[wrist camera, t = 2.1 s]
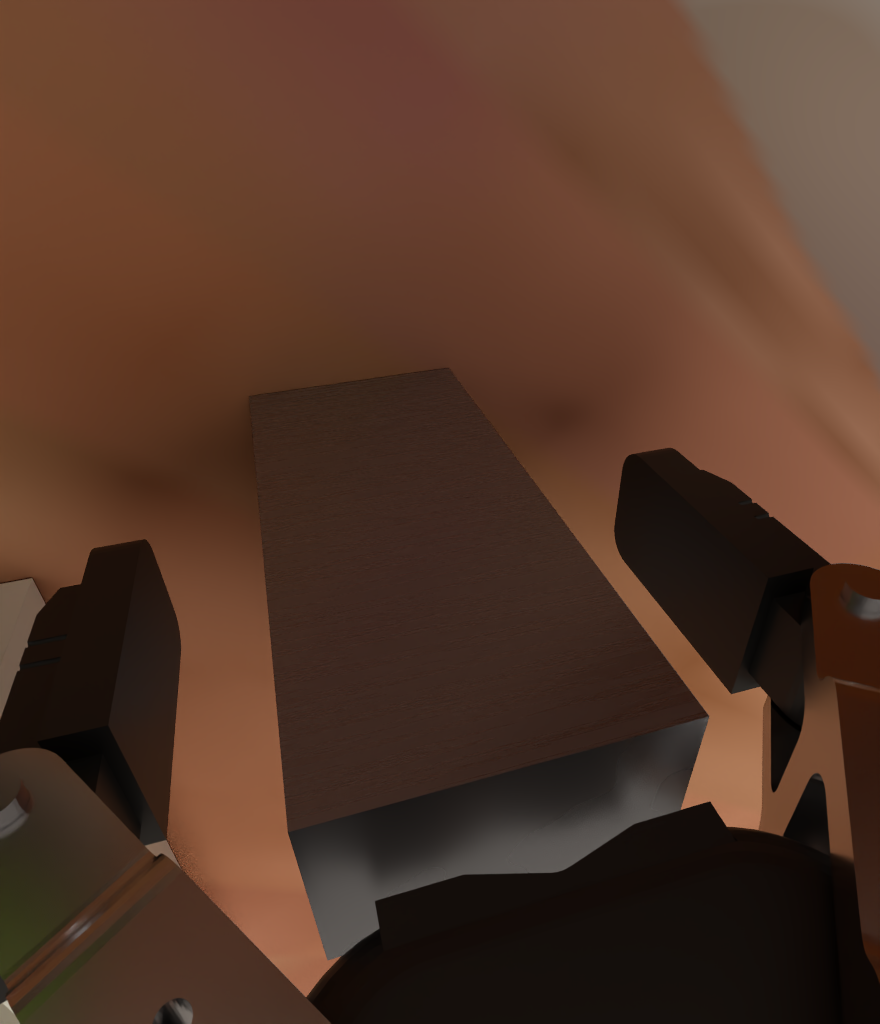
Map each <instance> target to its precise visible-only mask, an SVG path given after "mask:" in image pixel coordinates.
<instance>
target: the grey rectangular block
mask: <svg viewBox="0 0 880 1024" xmlns="http://www.w3.org/2000/svg"><path fill="white" fill-rule="evenodd" d="M249 401H250V413H251V424H252V435H253V446H254V457H255V469H256V480H257V491H258V502H259V513H260V525H261V536H262V547H263V558H264V569H265V581H266V592H267V603H268V614H269V625H270V637H271V648H272V659H273V670H274V681H275V693H276V704H277V715H278V726H279V737H280V749H281V760H282V771H283V782H284V793H285V805H286V816H287V827H288V834H289V837H290V840H291V844H292V847H293V850H294V853H295V857H296V860H297V863H298V866H299V869H300V873H301V876H302V879H303V882H304V886H305V889H306V892H307V895H308V898H309V902H310V905H311V908H312V911H313V915H314V918H315V921H316V924H317V928H318V931H319V934H320V937H321V940H322V944H323V947H324V950H325V953H326V957H327V960H330V959H334V958H337V957H340V956H343V955H344V954H345V953H346V952H347V951H349V950H350V949H351V948H352V947H353V946H355V945H356V944H357V943H358V942H360V941H361V940H362V939H364V938H365V937H367V936H368V935H370V934H371V933H373V932H375V931H376V930H378V929H379V923H378V917H377V911H376V906H375V901H376V900H380V899H383V898H386V897H390V896H393V895H396V894H400V893H403V892H406V891H410V890H413V889H417V888H420V887H423V886H427V885H430V884H433V883H437V882H440V881H444V880H447V879H450V878H454V877H457V876H460V875H464V874H512V873H553V872H559V871H562V870H565V869H567V868H568V867H570V866H572V865H573V864H575V863H576V862H578V861H579V860H581V859H582V858H584V857H585V856H587V855H588V854H590V853H591V852H593V851H594V850H596V849H597V848H599V847H600V846H602V845H603V844H605V843H606V842H608V841H609V840H611V839H612V838H614V837H615V836H617V835H618V834H620V833H621V832H623V831H624V830H626V829H627V828H629V827H630V826H632V825H633V824H636V823H639V822H642V821H646V820H649V819H652V818H656V817H659V816H663V815H666V814H669V813H673V812H676V811H679V810H680V809H681V806H682V803H683V800H684V796H685V793H686V790H687V787H688V784H689V780H690V777H691V774H692V771H693V767H694V764H695V761H696V758H697V755H698V751H699V748H700V745H701V742H702V738H703V735H704V732H705V729H706V726H707V722H708V719H709V715H708V714H707V713H706V711H705V710H704V709H703V707H702V706H701V705H700V703H699V702H698V701H697V699H696V698H695V697H694V695H693V694H692V693H691V691H690V690H689V689H688V687H687V686H686V685H685V683H684V682H683V680H682V679H681V678H680V676H679V675H678V674H677V672H676V671H675V670H674V668H673V667H672V666H671V664H670V663H669V662H668V660H667V659H666V658H665V656H664V655H663V654H662V652H661V651H660V650H659V648H658V647H657V646H656V644H655V643H654V642H653V640H652V639H651V638H650V636H649V635H648V634H647V632H646V631H645V630H644V628H643V627H642V626H641V624H640V623H639V622H638V620H637V619H636V618H635V616H634V615H633V614H632V612H631V611H630V610H629V608H628V607H627V606H626V604H625V603H624V602H623V600H622V599H621V598H620V596H619V595H618V594H617V592H616V591H615V590H614V588H613V587H612V585H611V584H610V583H609V581H608V580H607V579H606V577H605V576H604V575H603V573H602V572H601V571H600V569H599V568H598V567H597V565H596V564H595V563H594V561H593V560H592V559H591V557H590V556H589V555H588V553H587V552H586V551H585V549H584V548H583V547H582V545H581V544H580V543H579V541H578V540H577V539H576V537H575V536H574V535H573V533H572V532H571V531H570V529H569V528H568V527H567V525H566V524H565V523H564V521H563V520H562V519H561V517H560V516H559V515H558V513H557V512H556V511H555V509H554V508H553V507H552V505H551V504H550V503H549V501H548V500H547V499H546V497H545V496H544V495H543V493H542V492H541V490H540V489H539V488H538V486H537V485H536V484H535V482H534V481H533V480H532V478H531V477H530V476H529V474H528V473H527V472H526V470H525V469H524V468H523V466H522V465H521V464H520V462H519V461H518V460H517V458H516V457H515V456H514V454H513V453H512V452H511V450H510V449H509V448H508V446H507V445H506V444H505V442H504V441H503V440H502V438H501V437H500V436H499V434H498V433H497V432H496V430H495V429H494V428H493V426H492V425H491V424H490V422H489V421H488V420H487V418H486V417H485V416H484V414H483V413H482V412H481V410H480V409H479V408H478V406H477V405H476V404H475V402H474V401H473V400H472V398H471V397H470V396H469V394H468V393H467V391H466V390H465V389H464V387H463V386H462V385H461V383H460V382H459V381H458V379H457V378H456V377H455V375H454V374H453V373H452V371H451V370H450V369H449V368H444V369H437V370H430V371H423V372H416V373H409V374H402V375H395V376H388V377H381V378H374V379H367V380H360V381H353V382H346V383H339V384H332V385H325V386H318V387H311V388H304V389H297V390H290V391H283V392H276V393H269V394H262V395H255V396H249Z"/></svg>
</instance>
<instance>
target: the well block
mask: <svg viewBox="0 0 880 1024" xmlns="http://www.w3.org/2000/svg"><path fill="white" fill-rule="evenodd" d="M45 605H46V604H45V602H44V600H43V598H42V596H41V594H40V592H39V590H38V589H37V587H36V585H35V583H34V581H33V579H32V578H30V579H25V580H19V581H14V582H9V583H3V584H0V719H1V716H2V713H3V710H4V707H5V704H6V702H7V699H8V696H9V693H10V690H11V687H12V684H13V681H14V678H15V676H16V673H17V671H20V666H19V664H20V661H21V658H22V655H23V652H24V650H25V648H26V647H28V643H27V641H28V638H29V635H30V632H31V629H32V626H33V624H34V621H35V618H36V615H37V614H38V612H39V611H40V610H41V609H42V608H43V607H44V606H45ZM145 847H146V848H147V849H148V850H149V851H150V852H151V853H152V854H154V855H155V856H156V857H157V856H158V855H159V854H160V853H162V854H164V855H166V856H167V857H169V858H170V859H171V860H172V861H173V862H174V863H175V864H177V865H178V866H179V864H178V862H177V860H176V858H175V856H174V854H173V852H172V850H171V848H170V846H169V844H168V842H167V840H164V841H161V842H157V843H153V844H149V845H145ZM179 867H180V866H179ZM0 1024H20V1023H19V1021H18V1019H17V1018H16V1016H15V1014H14V1013H13V1011H12V1009H11V1007H10V1005H9V1003H8V1001H5V1002H3V1003H2V1004H0Z"/></svg>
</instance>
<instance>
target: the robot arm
mask: <svg viewBox="0 0 880 1024" xmlns="http://www.w3.org/2000/svg"><path fill="white" fill-rule="evenodd" d="M614 533H615V540H616V545H617V548H618V551H619V553H620V555H621V557H622V559H623V560H624V562H625V563H626V564H627V565H628V567H629V568H630V569H631V570H632V572H633V573H634V574H635V575H636V577H637V578H638V579H639V580H640V582H641V583H642V584H643V585H644V586H645V588H646V589H647V590H648V591H649V593H650V594H651V595H652V596H653V598H654V599H655V600H656V601H657V603H658V604H659V605H660V606H661V608H662V609H663V610H664V611H665V613H666V614H667V615H668V616H669V617H670V619H671V620H672V621H673V622H674V624H675V625H676V626H677V627H678V629H679V630H680V631H681V632H682V634H683V635H684V636H685V637H686V639H687V640H688V641H689V642H690V643H691V645H692V646H693V647H694V648H695V650H696V651H697V652H698V653H699V655H700V656H701V657H702V658H703V660H704V661H705V662H706V663H707V665H708V666H709V667H710V668H711V670H712V671H713V672H714V673H715V674H716V676H717V677H718V678H719V679H720V681H721V682H722V683H723V684H724V686H725V687H726V688H727V689H728V691H729V692H730V693H731V694H733V693H737V692H741V691H745V690H749V689H752V688H756V687H760V686H761V688H762V689H763V690H764V691H765V692H766V693H767V695H768V696H767V699H766V701H765V704H764V707H763V754H762V811H761V820H760V825H759V830H755V829H746V828H737V827H726V825H725V824H724V822H723V820H722V819H721V817H720V816H719V814H718V813H717V811H716V810H715V808H714V807H713V805H712V804H711V802H706V803H703V804H700V805H696V806H693V807H689V808H686V809H683V810H679V811H676V812H673V813H669V814H666V815H663V816H659V817H656V818H652V819H649V820H646V821H642V822H639V823H636V824H633V825H632V826H630V827H629V828H627V829H626V830H624V831H623V832H621V833H620V834H618V835H617V836H615V837H614V838H612V839H611V840H609V841H608V842H606V843H605V844H603V845H602V846H600V847H599V848H597V849H596V850H594V851H593V852H591V853H590V854H588V855H587V856H585V857H584V858H582V859H581V860H579V861H578V862H576V863H575V864H573V865H572V866H570V867H568V868H567V869H565V870H562V871H559V872H553V873H512V874H464V875H460V876H457V877H454V878H450V879H447V880H444V881H440V882H437V883H433V884H430V885H427V886H423V887H420V888H417V889H413V890H410V891H406V892H403V893H400V894H396V895H393V896H390V897H386V898H383V899H380V900H376V901H375V906H376V911H377V917H378V923H379V929H378V930H376V931H375V932H373V933H371V934H370V935H368V936H367V937H365V938H364V939H362V940H361V941H360V942H358V943H357V944H356V945H355V946H353V947H352V948H351V949H350V950H349V951H347V952H346V953H345V954H344V955H343V956H341V957H340V958H339V960H338V961H337V962H336V963H335V964H334V965H333V966H332V967H331V968H330V969H329V970H328V971H327V972H326V973H325V974H324V975H323V976H322V978H321V979H320V980H319V982H318V983H317V984H316V985H315V987H314V988H313V989H312V991H311V992H310V993H309V995H308V996H307V997H305V996H304V995H303V994H302V993H301V992H300V991H299V990H298V989H297V988H296V987H295V986H294V985H293V984H292V983H291V982H290V981H289V980H288V979H287V977H286V976H285V975H284V974H283V973H282V972H281V971H280V970H279V969H278V968H277V967H276V966H275V965H274V964H273V963H272V962H271V961H270V960H269V959H268V958H267V957H266V956H265V955H264V954H263V953H262V952H261V951H260V950H259V949H258V948H257V947H256V946H255V945H254V943H253V942H252V941H251V940H250V939H249V938H248V937H247V936H246V935H245V934H244V933H243V932H242V931H241V930H240V929H239V928H238V927H237V926H236V925H235V924H234V923H233V922H232V921H231V920H230V919H229V918H228V917H227V916H226V915H225V914H224V913H223V912H222V911H221V909H220V908H219V907H218V906H217V905H216V904H215V903H214V902H213V901H212V900H211V899H210V898H209V897H208V896H207V895H206V894H205V893H204V892H203V891H202V890H201V889H200V888H199V887H198V886H197V885H196V884H195V883H194V882H193V881H192V880H191V879H190V878H189V877H188V876H187V874H186V873H185V872H184V871H183V870H182V869H181V868H180V867H179V866H178V865H177V864H175V863H174V862H173V861H172V860H171V859H170V858H169V857H167V856H166V855H164V854H162V853H160V854H159V855H158V856H157V857H156V856H155V855H154V854H152V853H151V852H150V851H149V850H148V849H147V848H146V847H145V845H149V844H153V843H157V842H161V841H164V840H166V838H167V825H168V812H169V799H170V786H171V773H172V760H173V747H174V734H175V721H176V708H177V696H178V683H179V670H180V657H181V640H180V632H179V626H178V622H177V618H176V614H175V611H174V608H173V605H172V603H171V600H170V597H169V594H168V592H167V589H166V586H165V583H164V581H163V578H162V575H161V572H160V569H159V567H158V564H157V561H156V558H155V556H154V553H153V550H152V548H151V546H150V544H149V543H148V541H147V540H145V539H144V540H138V541H132V542H127V543H121V544H115V545H110V546H104V547H99V548H94V549H92V550H91V552H90V555H89V558H88V562H87V565H86V569H85V573H84V576H83V580H82V583H81V584H80V585H74V586H69V587H63V588H60V589H59V590H58V591H57V592H56V593H55V594H54V596H53V597H52V598H51V599H50V600H49V601H48V602H47V603H46V605H45V606H44V607H43V608H42V609H41V610H40V611H39V612H38V614H37V615H36V618H35V621H34V624H33V626H32V629H31V632H30V635H29V638H28V641H27V643H28V647H26V648H25V650H24V652H23V655H22V658H21V661H20V664H19V666H20V671H17V673H16V676H15V678H14V681H13V684H12V687H11V690H10V693H9V696H8V699H7V702H6V704H5V707H4V710H3V713H2V716H1V719H0V1004H2V1003H3V1002H5V1001H8V1003H9V1005H10V1007H11V1009H12V1011H13V1013H14V1014H15V1016H16V1018H17V1019H18V1021H19V1023H20V1024H880V570H878V569H875V568H871V567H867V566H863V565H858V564H849V563H838V564H830V563H829V562H827V561H826V560H825V559H824V558H823V557H821V556H820V555H819V554H818V553H817V552H815V551H814V550H813V549H812V548H810V547H809V546H808V545H807V544H806V543H804V542H803V541H802V540H801V539H799V538H798V537H797V536H796V535H795V534H793V533H792V532H791V531H790V530H789V529H787V528H786V527H785V526H784V525H782V524H781V523H780V522H779V521H778V520H776V519H775V518H774V517H769V513H768V512H767V511H765V510H764V509H763V508H762V507H761V506H759V505H758V504H757V503H752V499H751V498H750V497H748V496H747V495H746V494H745V493H743V492H742V491H741V490H740V489H739V488H737V487H736V486H735V485H734V484H732V483H731V482H729V481H727V480H725V479H722V478H720V477H718V476H716V475H714V474H711V473H709V472H707V471H705V470H699V469H698V468H697V467H696V466H694V465H693V464H692V463H691V462H690V461H688V460H687V459H686V458H685V457H684V456H683V455H681V454H680V453H679V452H678V451H676V450H675V449H673V448H665V449H659V450H654V451H648V452H642V453H637V454H632V455H629V456H628V457H627V458H626V459H625V461H624V464H623V469H622V476H621V483H620V490H619V498H618V505H617V512H616V519H615V528H614Z"/></svg>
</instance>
